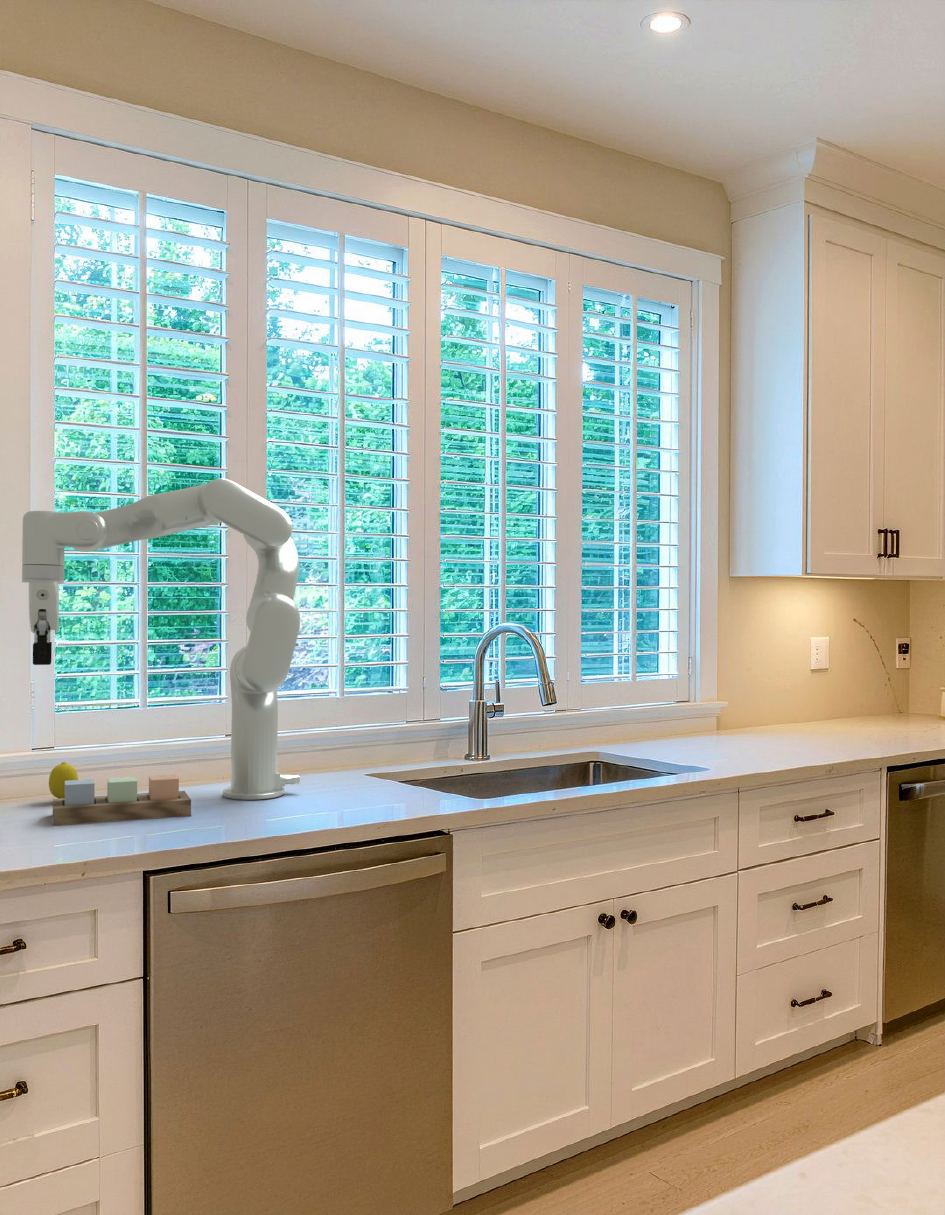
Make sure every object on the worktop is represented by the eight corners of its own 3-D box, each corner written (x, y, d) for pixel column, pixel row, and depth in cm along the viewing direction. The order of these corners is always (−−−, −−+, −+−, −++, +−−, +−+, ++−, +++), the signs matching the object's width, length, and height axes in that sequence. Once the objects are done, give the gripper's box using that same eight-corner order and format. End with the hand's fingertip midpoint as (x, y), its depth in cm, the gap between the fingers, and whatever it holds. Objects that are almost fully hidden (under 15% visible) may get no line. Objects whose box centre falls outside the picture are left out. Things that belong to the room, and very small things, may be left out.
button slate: (93, 805, 186) (93, 779, 186) (94, 810, 181) (94, 783, 181) (64, 807, 184) (64, 780, 184) (64, 812, 179) (65, 785, 179)
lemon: (69, 798, 202) (69, 759, 202) (83, 801, 199) (83, 761, 199) (43, 801, 198) (43, 762, 198) (57, 805, 194) (57, 764, 194)
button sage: (134, 803, 189) (135, 776, 189) (137, 807, 184) (137, 781, 184) (107, 804, 187) (107, 778, 187) (108, 809, 182) (108, 782, 182)
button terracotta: (175, 800, 192) (175, 774, 192) (178, 805, 187) (178, 778, 187) (148, 802, 190) (148, 776, 190) (151, 806, 185) (151, 780, 185)
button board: (184, 806, 195) (184, 790, 195) (190, 815, 186) (191, 799, 186) (52, 814, 185) (52, 798, 185) (52, 825, 176) (53, 808, 176)
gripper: (64, 574, 184) (63, 665, 184) (63, 576, 200) (63, 661, 200) (20, 573, 181) (19, 666, 181) (23, 576, 197) (22, 661, 197)
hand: (42, 663), depth 191 cm, fingers open, 9 cm apart
